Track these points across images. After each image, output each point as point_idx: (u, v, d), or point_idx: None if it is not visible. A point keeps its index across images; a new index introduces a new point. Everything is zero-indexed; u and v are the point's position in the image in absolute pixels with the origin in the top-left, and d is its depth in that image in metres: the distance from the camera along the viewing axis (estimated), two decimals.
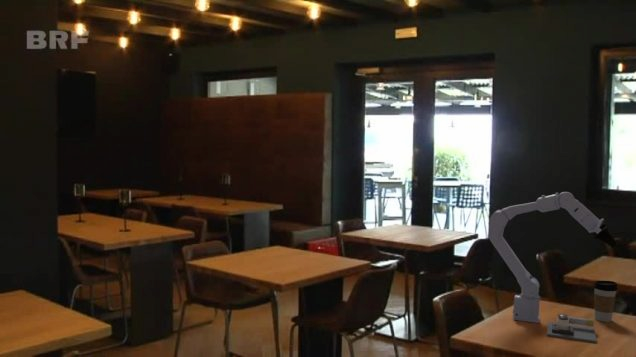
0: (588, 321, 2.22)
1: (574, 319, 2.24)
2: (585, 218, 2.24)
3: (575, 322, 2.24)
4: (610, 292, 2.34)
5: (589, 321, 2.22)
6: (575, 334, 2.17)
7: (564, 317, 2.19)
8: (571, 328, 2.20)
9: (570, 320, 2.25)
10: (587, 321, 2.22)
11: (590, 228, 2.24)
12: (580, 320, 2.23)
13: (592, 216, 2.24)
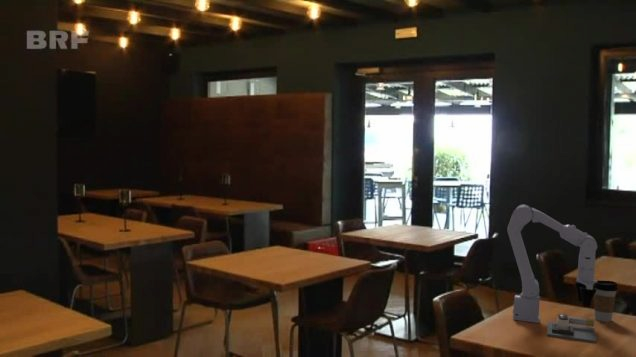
0: (588, 321, 2.22)
1: (574, 319, 2.24)
2: (587, 270, 2.25)
3: (575, 322, 2.24)
4: (610, 292, 2.34)
5: (589, 321, 2.22)
6: (575, 334, 2.17)
7: (564, 317, 2.19)
8: (571, 328, 2.20)
9: (570, 320, 2.25)
10: (587, 321, 2.22)
11: (582, 279, 2.26)
12: (580, 320, 2.23)
13: (593, 273, 2.26)
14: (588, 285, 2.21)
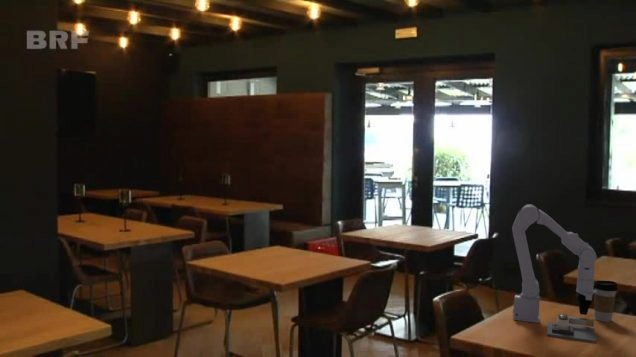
0: (588, 321, 2.22)
1: (574, 319, 2.24)
2: (587, 280, 2.26)
3: (575, 322, 2.24)
4: (610, 292, 2.34)
5: (589, 321, 2.22)
6: (575, 334, 2.17)
7: (564, 317, 2.19)
8: (571, 328, 2.20)
9: (570, 320, 2.25)
10: (587, 321, 2.22)
11: (582, 290, 2.27)
12: (580, 320, 2.23)
13: (592, 283, 2.26)
14: (587, 296, 2.22)
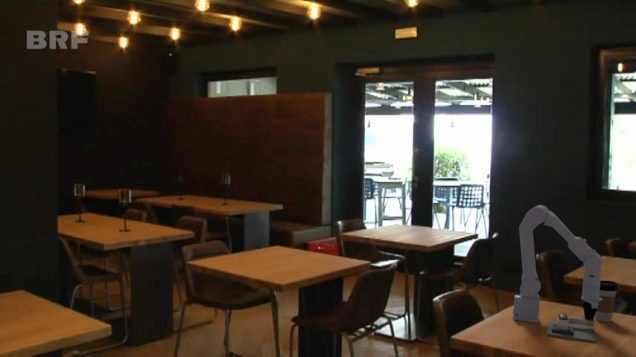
0: (588, 321, 2.22)
1: (574, 319, 2.24)
2: (593, 288, 2.22)
3: (575, 322, 2.24)
4: (610, 292, 2.34)
5: (589, 321, 2.22)
6: (575, 334, 2.17)
7: (564, 317, 2.19)
8: (571, 328, 2.20)
9: (570, 320, 2.25)
10: (587, 321, 2.22)
11: (587, 297, 2.23)
12: (580, 320, 2.23)
13: (598, 291, 2.22)
14: (593, 304, 2.18)
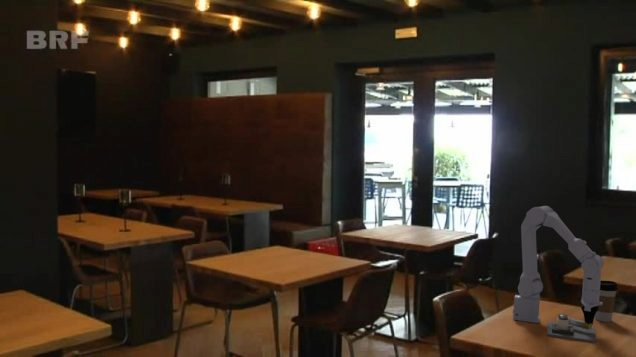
0: (584, 324, 2.19)
1: (571, 320, 2.23)
2: (590, 291, 2.17)
3: (572, 323, 2.23)
4: (610, 292, 2.34)
5: (584, 324, 2.19)
6: (575, 334, 2.17)
7: (564, 317, 2.19)
8: (571, 328, 2.20)
9: None
10: (583, 323, 2.19)
11: (585, 300, 2.19)
12: (576, 322, 2.21)
13: (596, 294, 2.17)
14: (586, 306, 2.14)
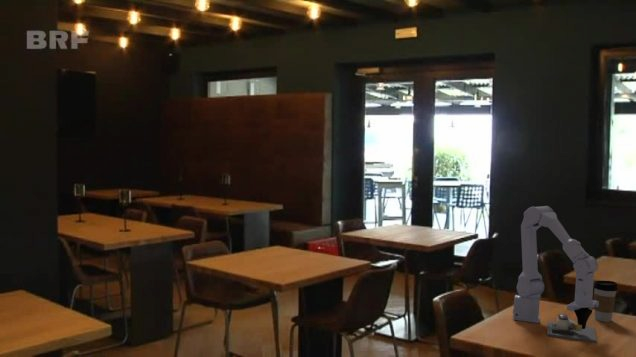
0: (573, 324, 2.18)
1: None
2: (578, 291, 2.16)
3: None
4: (610, 292, 2.34)
5: (574, 324, 2.17)
6: (575, 334, 2.17)
7: (564, 317, 2.19)
8: (571, 328, 2.20)
9: None
10: (573, 324, 2.18)
11: (575, 301, 2.17)
12: (569, 322, 2.20)
13: (585, 296, 2.14)
14: (568, 306, 2.14)
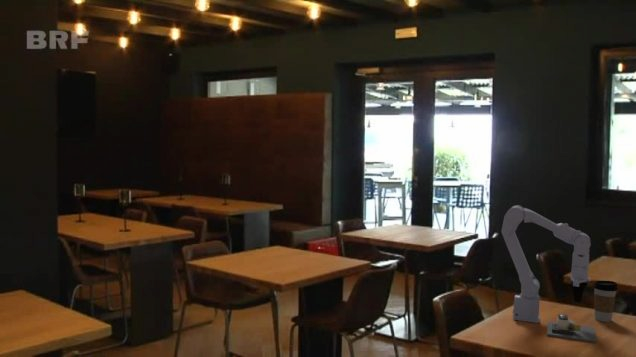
0: (572, 324, 2.18)
1: None
2: (578, 267, 2.25)
3: None
4: (610, 292, 2.34)
5: (572, 324, 2.17)
6: (575, 334, 2.17)
7: (564, 317, 2.19)
8: None
9: None
10: (571, 324, 2.18)
11: (574, 276, 2.26)
12: None
13: (585, 271, 2.25)
14: (574, 282, 2.22)
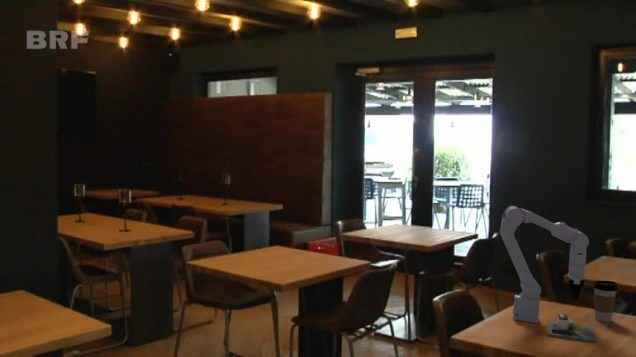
0: (572, 324, 2.18)
1: None
2: (577, 265, 2.28)
3: None
4: (610, 292, 2.34)
5: (572, 324, 2.17)
6: (575, 334, 2.17)
7: (564, 317, 2.19)
8: None
9: None
10: (571, 324, 2.18)
11: (572, 274, 2.30)
12: None
13: (583, 268, 2.29)
14: (575, 280, 2.25)
